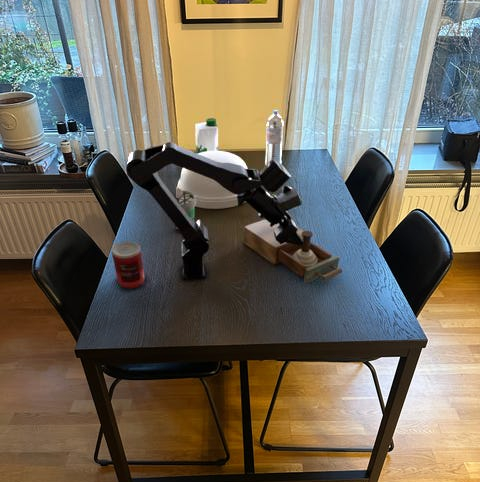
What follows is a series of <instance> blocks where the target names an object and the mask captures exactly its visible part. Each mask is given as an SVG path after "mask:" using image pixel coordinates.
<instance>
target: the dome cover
mask: <svg viewBox="0 0 480 482" xmlns="http://www.w3.org/2000/svg"><path fill="white" fill-rule="evenodd" d="M198 154H199V155H201V156H204V157H206V158H209V159H211V160H214V161H216V162H220V163H232V164H236V165H241V166H243V167H244V168H246V169H249V168H248V166H247V164H246V162H245V161H244V160H243V158H241V157H240V156H238V155H236V154H235V153H232V152H228V151H224V150H218V151H206V152H202V153H198ZM249 179H251V180H252V178H249ZM183 191H188V192H191V193H192V194H193V195H194V196H195V199H196V205H195V207H196V208H201V209H211V210H212V209H215V210H216V209H219V210H220V209H227V208H233V207H237V206H238V202H237V195H236V194H233V193H232V192H230V191H228V190H227V189H225V188H223V187H222V186H221V185H220V184H219V183H218V182H216V181H214V180H213V179H210V178H208V177H205V176H203V175H200V174H198V173H195V172H192V171H190V170H187V169H185V168H182V169H181V173H180V178H179V180H178V182H177V186H176V187H175V199H179V198H180V197H181V195H182V194H183ZM244 203H247V202H246V201H245V202H244ZM244 203H243V204H244Z"/></svg>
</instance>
